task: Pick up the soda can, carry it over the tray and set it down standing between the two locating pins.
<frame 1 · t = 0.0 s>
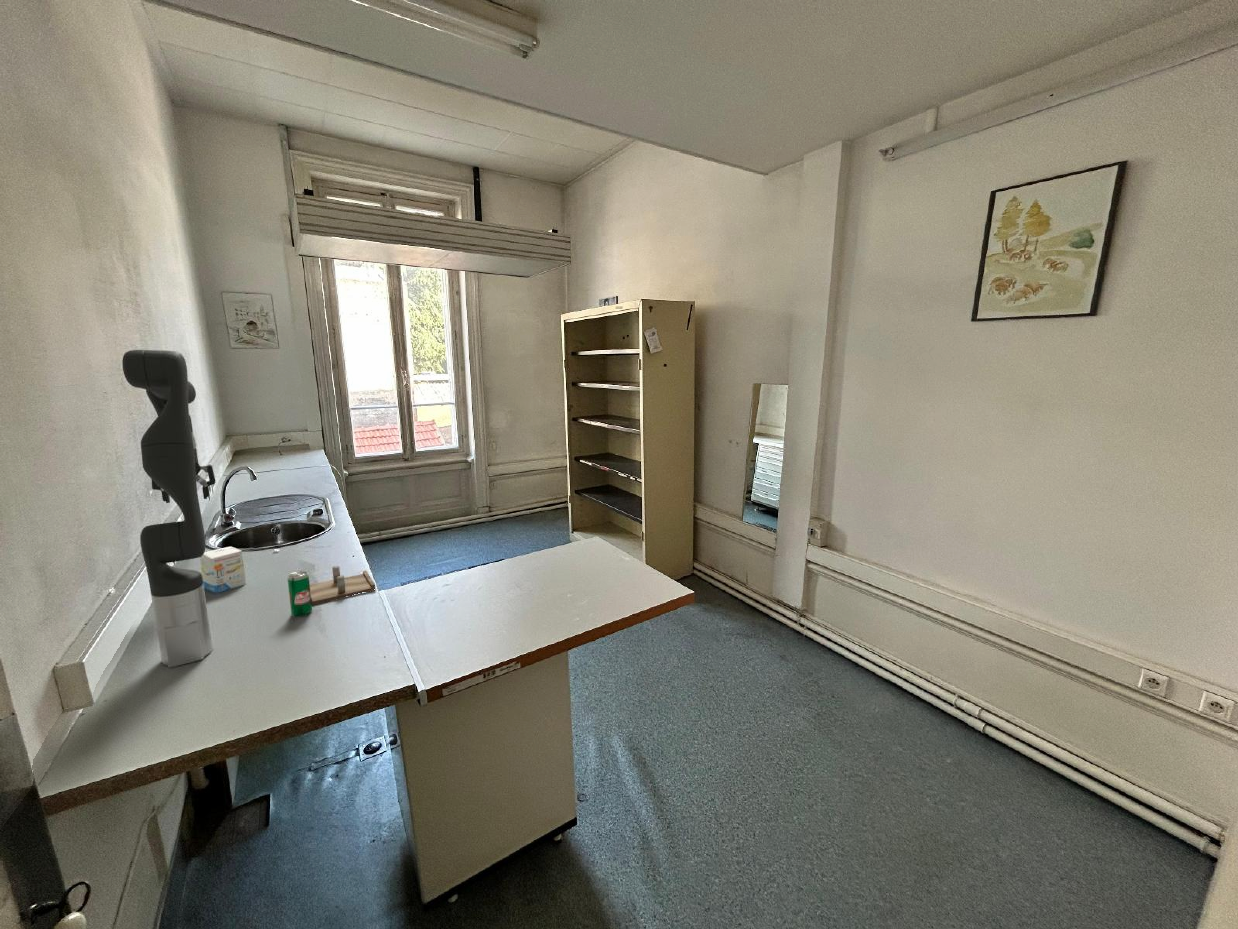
hand: (187, 500, 147), 29 cm above the counter, fingers open, 8 cm apart
ink box: (225, 586, 156), on the counter
soda can: (302, 614, 139), on the counter
tray: (339, 590, 154), on the counter
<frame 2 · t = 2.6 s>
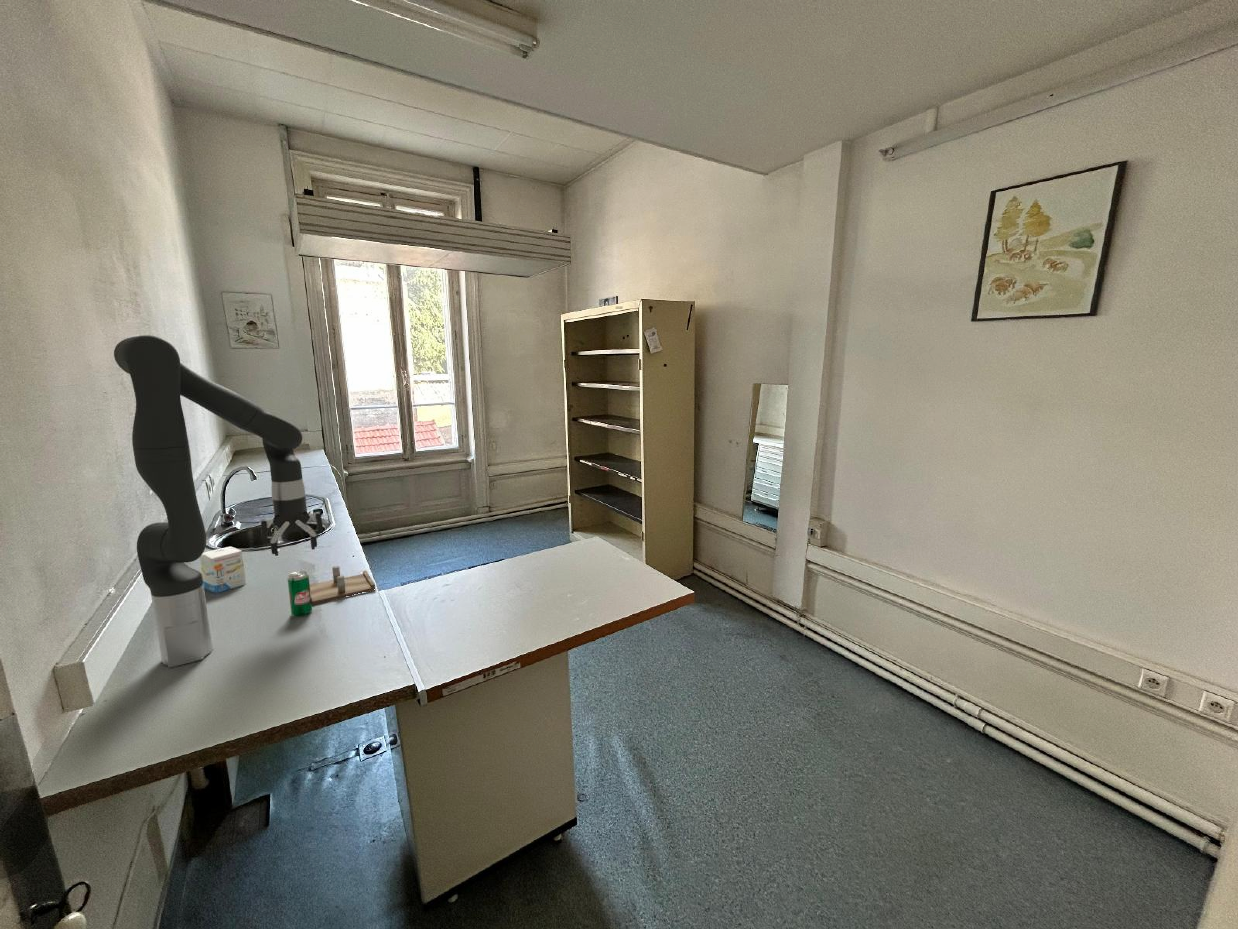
hand: (295, 551, 135), 19 cm above the counter, fingers open, 8 cm apart
nothing on the counter moved.
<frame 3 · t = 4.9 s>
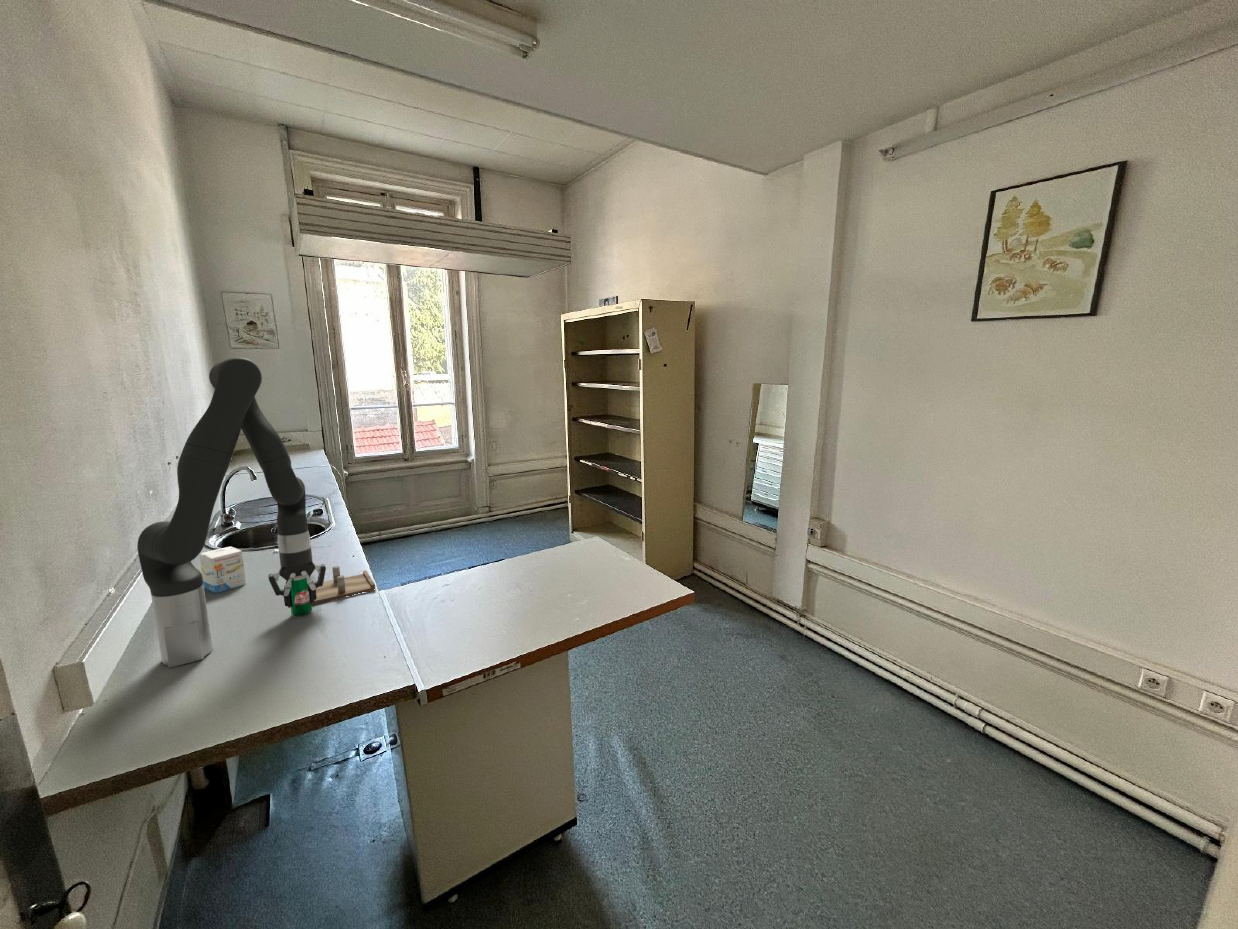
hand: (301, 603, 138), 3 cm above the counter, fingers closed on soda can, 5 cm apart
soda can: (302, 614, 139), on the counter, touching gripper
everything else where it was.
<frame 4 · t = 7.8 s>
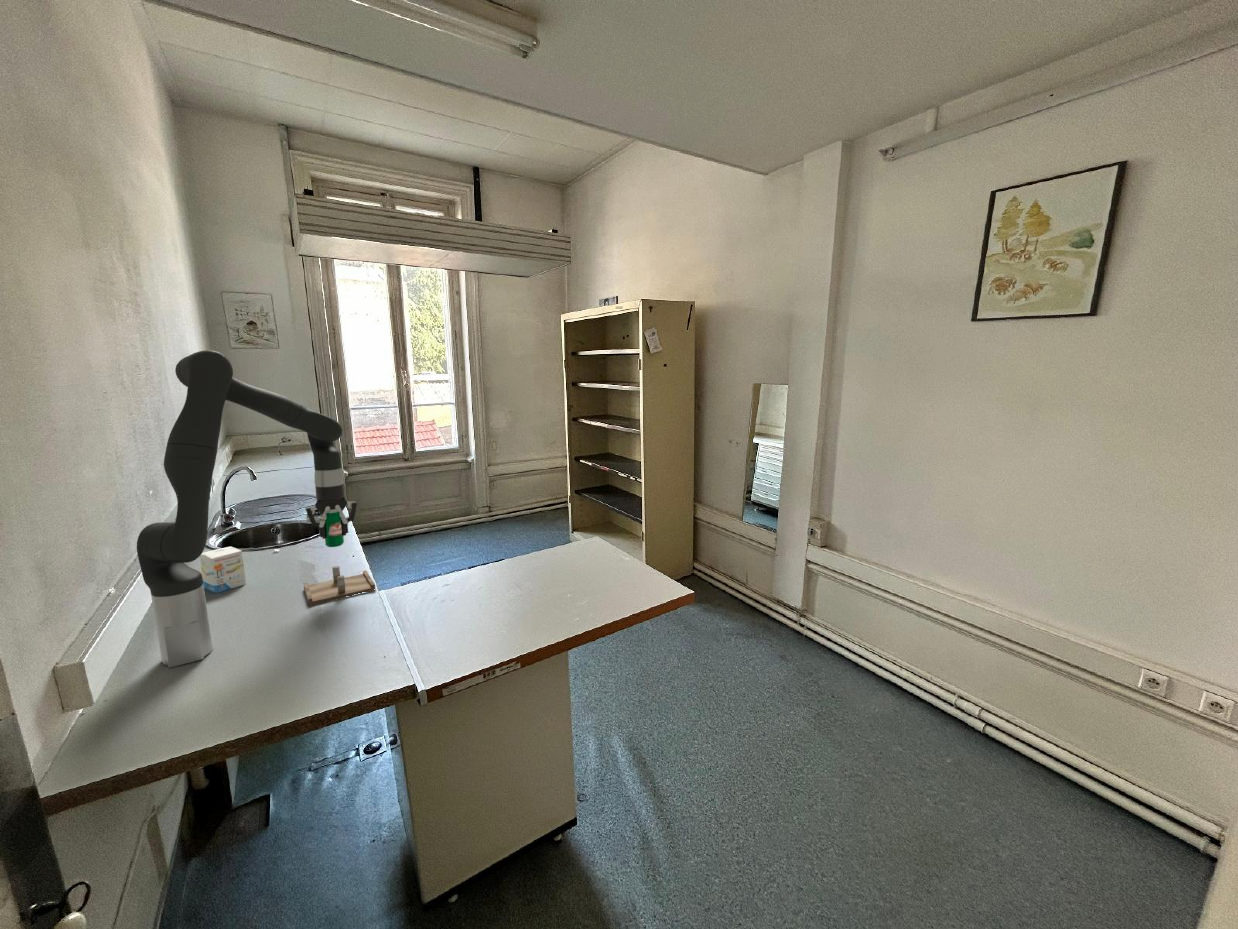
hand: (334, 536, 151), 18 cm above the counter, fingers closed on soda can, 5 cm apart
soda can: (335, 545, 151), point 15 cm above the counter, touching gripper
everything else where it was.
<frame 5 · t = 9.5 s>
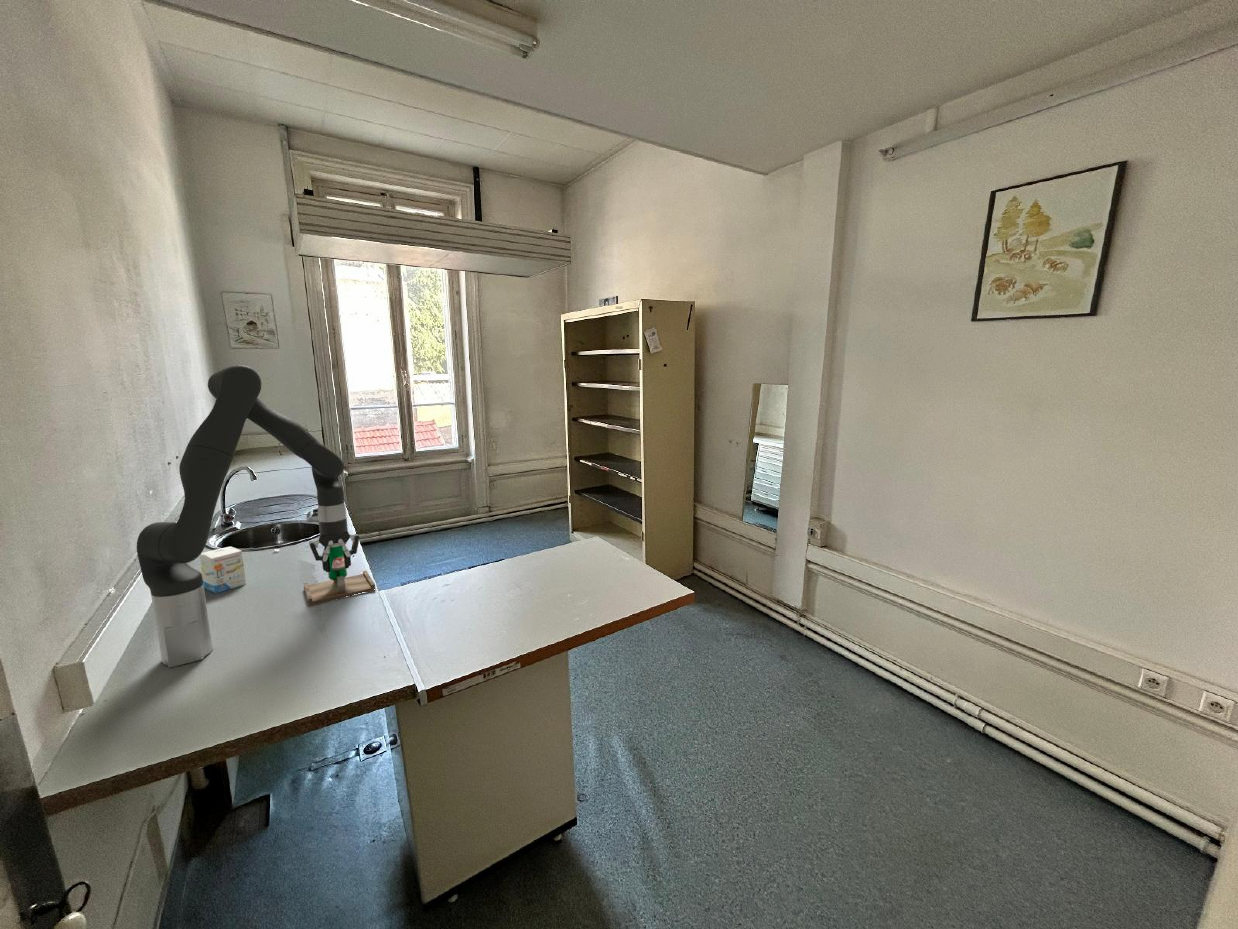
hand: (337, 569, 153), 7 cm above the counter, fingers closed on soda can, 5 cm apart
soda can: (338, 578, 153), point 4 cm above the counter, touching gripper
everything else where it was.
when the fingers open (6 cm above the counter, at t = 10.7 s): soda can drops 2 cm, resting on tray.
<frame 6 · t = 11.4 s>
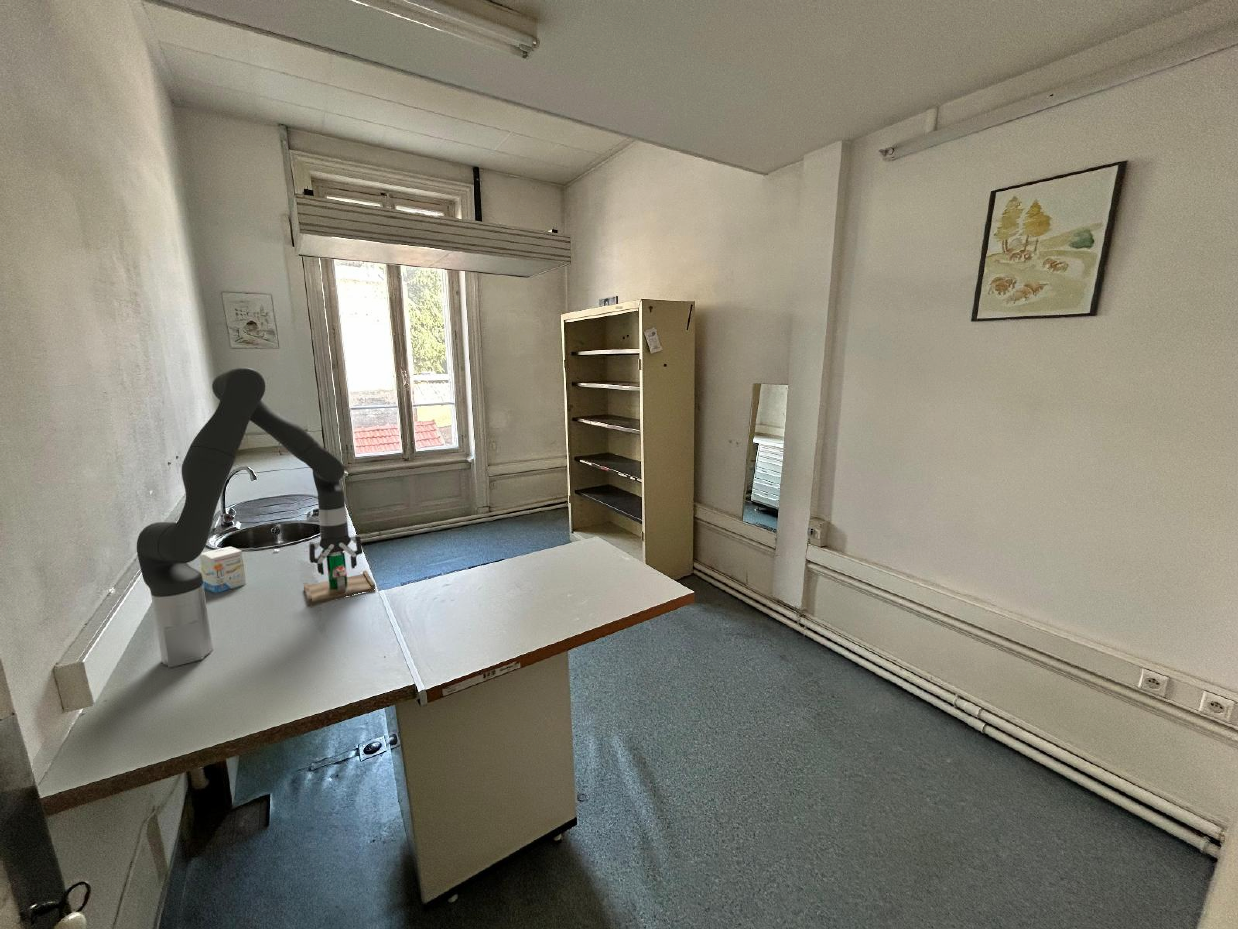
hand: (338, 570, 153), 7 cm above the counter, fingers open, 8 cm apart
soda can: (338, 587, 154), point 1 cm above the counter, touching tray
everything else where it was.
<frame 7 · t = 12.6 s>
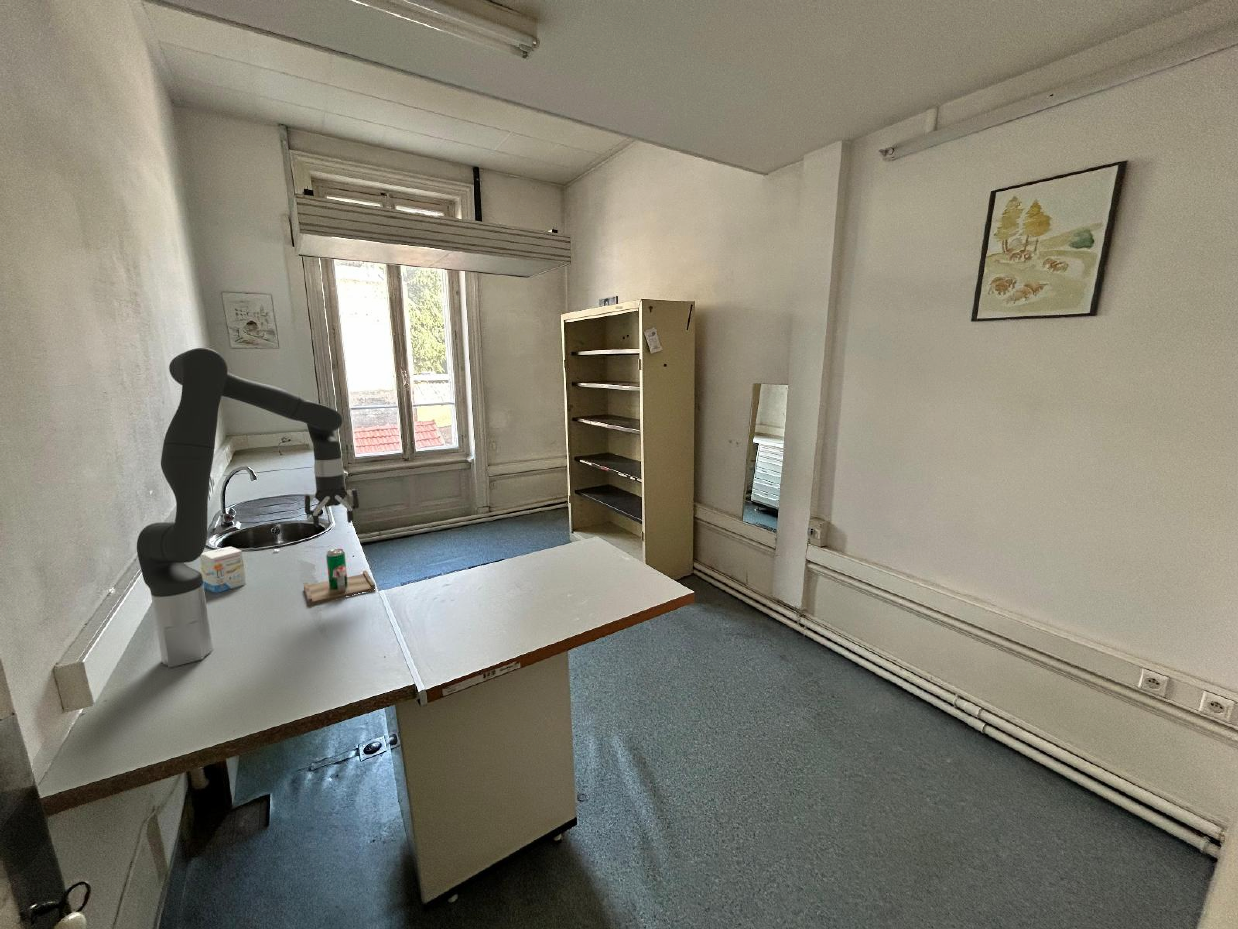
hand: (333, 524, 150), 22 cm above the counter, fingers open, 8 cm apart
nothing on the counter moved.
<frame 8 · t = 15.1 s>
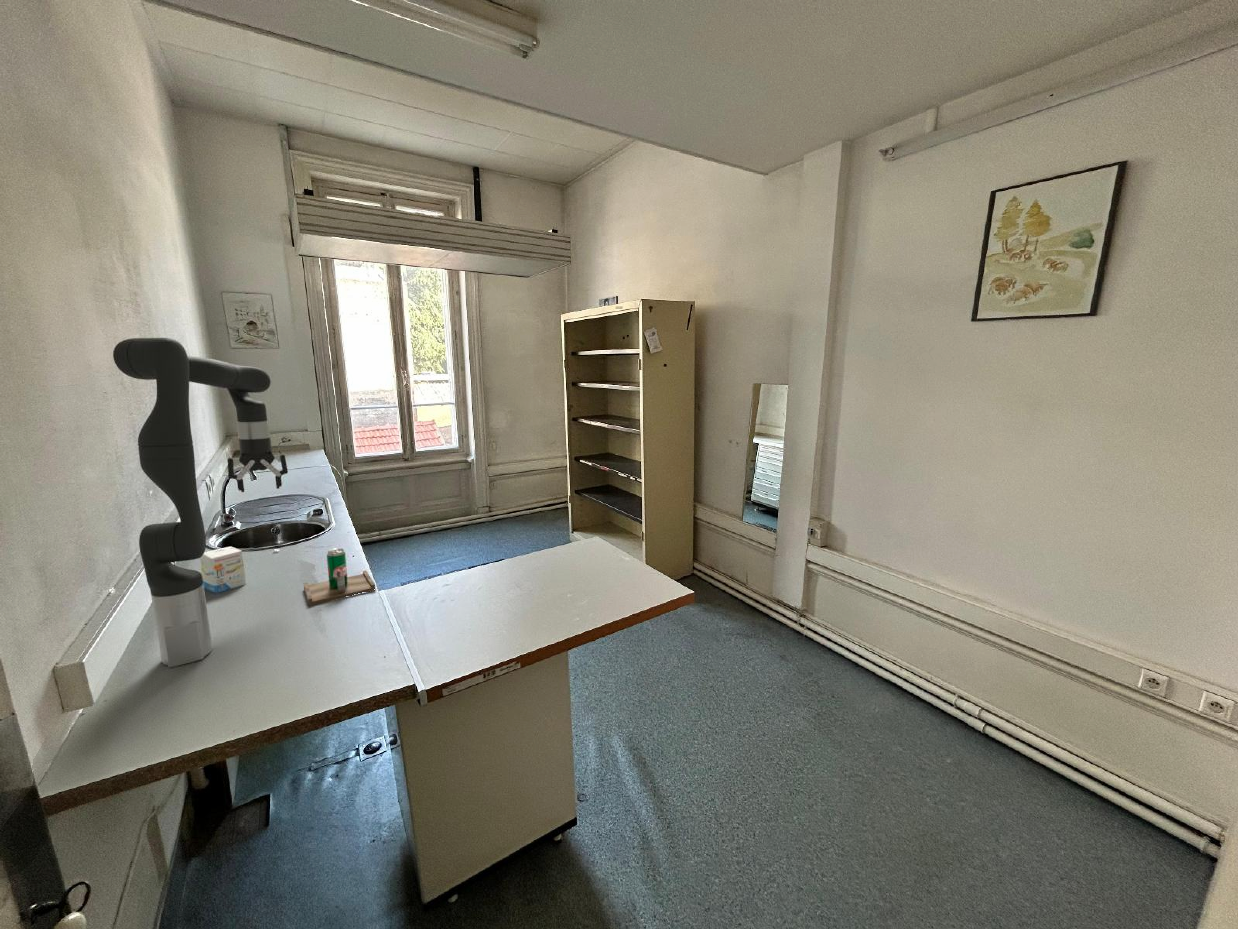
hand: (260, 490, 146), 33 cm above the counter, fingers open, 8 cm apart
nothing on the counter moved.
at the end: soda can 0.2 cm from the tray (horizontally); soda can touching tray; soda can tilted 1° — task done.
